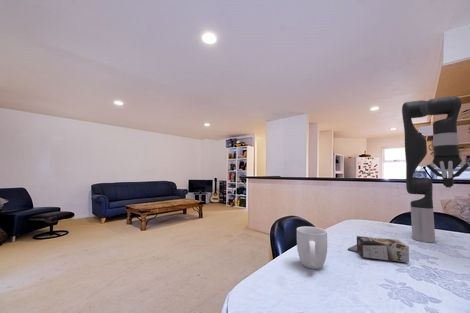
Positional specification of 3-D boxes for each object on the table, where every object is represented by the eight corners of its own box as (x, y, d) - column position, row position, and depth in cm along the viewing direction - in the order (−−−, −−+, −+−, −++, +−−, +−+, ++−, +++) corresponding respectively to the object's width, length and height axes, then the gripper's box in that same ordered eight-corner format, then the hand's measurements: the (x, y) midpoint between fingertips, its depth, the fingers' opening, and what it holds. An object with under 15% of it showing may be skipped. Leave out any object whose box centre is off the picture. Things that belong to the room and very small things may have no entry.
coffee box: (409, 245, 83) (362, 241, 87) (409, 263, 82) (362, 258, 86) (398, 238, 91) (356, 235, 96) (398, 254, 91) (356, 250, 95)
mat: (362, 242, 108) (362, 241, 108) (401, 251, 96) (401, 250, 96) (347, 250, 97) (347, 248, 97) (389, 261, 85) (389, 259, 85)
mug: (331, 279, 69) (330, 238, 71) (296, 274, 73) (295, 235, 74) (326, 261, 84) (325, 227, 85) (297, 258, 87) (296, 225, 88)
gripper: (470, 144, 85) (473, 187, 84) (426, 147, 95) (428, 186, 94) (468, 142, 80) (471, 188, 79) (422, 145, 91) (424, 186, 89)
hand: (448, 187), depth 87 cm, fingers closed
